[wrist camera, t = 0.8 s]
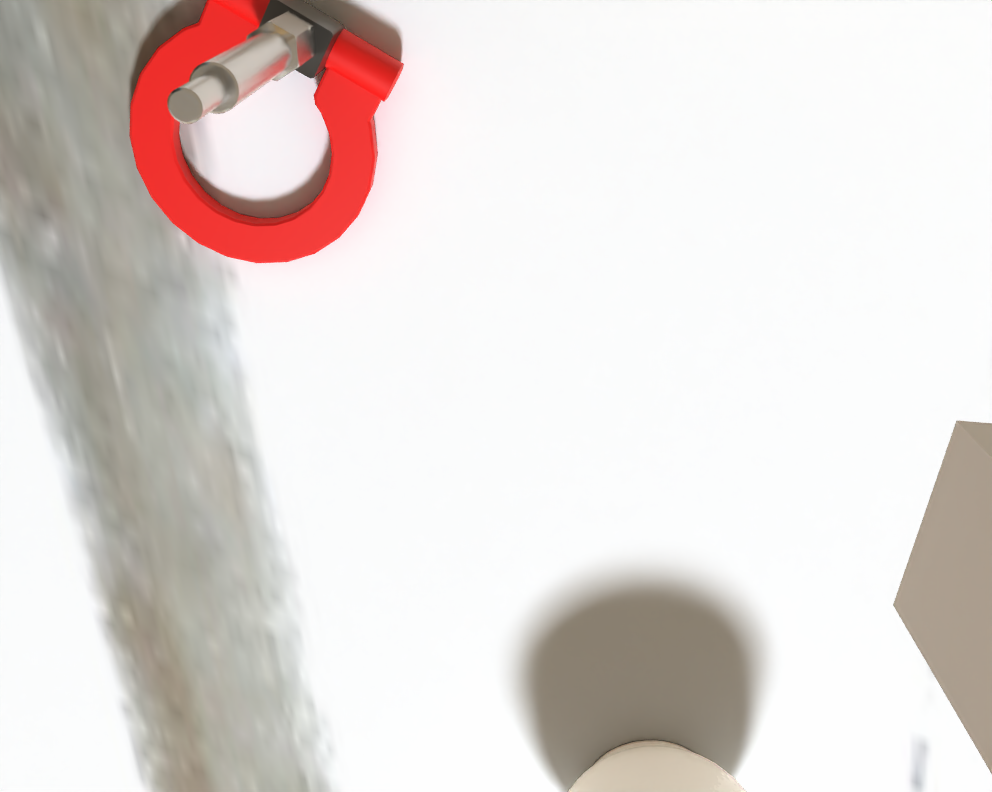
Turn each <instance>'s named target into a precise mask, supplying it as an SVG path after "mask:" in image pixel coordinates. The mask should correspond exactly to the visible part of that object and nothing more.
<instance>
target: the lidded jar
mask: <svg viewBox="0 0 992 792" xmlns="http://www.w3.org/2000/svg"><path fill="white" fill-rule="evenodd" d="M568 792H746V791H745V790H744V788H743V787H742V786H741V785H740V784H739V783H738V782H737V781H736V779H735V778H734V777H733V776H731V775H730V774H729V773H728V772H726V771H725V770H724V769H722V768H721V767H720V766H718V765H717V764H716V763H714V762H712V761H710V760H709V759H707V758H705V757H703V756H701V755H698V754H696V753H693V752H692V751H690V750H688V749H686V748H685V747H683V746H680V745H677V744H675V743H671V742H666V741H658V740H643V741H636V742H631V743H627V744H624V745H621V746H619V747H616V748H614V749H612V750H611V751H609V752H607V753H606V754H604V755H603V756H602V757H600V758H599V759H598V760H597V761H596V762H595V764H594V765H593V766H592V767H590V768H589V769H588V770H587V771H585V772H584V773H583V774H582V775H581V776H580V777H579V778H578V779H577V780H576V782H575V783H574V784H573V786H572V787H571V789H570V790H569V791H568Z"/></svg>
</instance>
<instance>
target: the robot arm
mask: <svg viewBox="0 0 992 792" xmlns="http://www.w3.org/2000/svg"><path fill="white" fill-rule="evenodd" d="M893 606H894V607H895V609H896V611H897V612H898V614H899V616H900V618H901V619H902V621H903V623H904V624H905V626H906V628H907V629H908V631H909V633H910V635H911V636H912V638H913V640H914V641H915V643H916V645H917V647H918V648H919V650H920V652H921V653H922V655H923V657H924V659H925V660H926V662H927V664H928V665H929V667H930V669H931V671H932V672H933V674H934V676H935V677H936V679H937V681H938V683H939V684H940V686H941V688H942V689H943V691H944V693H945V695H946V696H947V698H948V700H949V701H950V703H951V705H952V707H953V708H954V710H955V712H956V713H957V715H958V717H959V719H960V720H961V722H962V724H963V725H964V727H965V729H966V731H967V732H968V734H969V736H970V737H971V739H972V741H973V743H974V744H975V746H976V748H977V749H978V751H979V753H980V755H981V756H982V758H983V760H984V761H985V763H986V765H987V767H988V768H989V770H990V772H991V773H992V424H991V423H979V422H967V421H956V424H955V427H954V430H953V433H952V436H951V439H950V442H949V444H948V447H947V450H946V453H945V456H944V459H943V462H942V465H941V468H940V471H939V473H938V476H937V479H936V482H935V485H934V488H933V491H932V494H931V497H930V500H929V503H928V505H927V508H926V511H925V514H924V517H923V520H922V523H921V526H920V529H919V532H918V534H917V537H916V540H915V543H914V546H913V549H912V552H911V555H910V558H909V561H908V563H907V566H906V569H905V572H904V575H903V578H902V581H901V584H900V587H899V590H898V593H897V595H896V598H895V601H894V604H893Z"/></svg>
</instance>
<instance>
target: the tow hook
mask: <svg viewBox="0 0 992 792" xmlns="http://www.w3.org/2000/svg"><path fill="white" fill-rule="evenodd" d="M403 65H404V64H403V63H401V62H400V61H398V60H396V59H395V58H393V57H391V56H390V55H388V54H386V53H384V52H383V51H381V50H379V49H378V48H376V47H374V46H373V45H371V44H369V43H368V42H366V41H364V40H363V39H361V38H359V37H357V36H356V35H354V34H352V33H351V32H349V31H347V30H346V29H344V26H343V24H341V23H340V22H338V21H336V20H335V19H333V18H331V17H330V16H328V15H326V14H325V13H323V12H321V11H320V10H318V9H316V8H315V7H313V6H311V5H309V4H308V3H306V2H304V1H303V0H207V2H206V5H205V7H204V10H203V12H202V15H201V17H200V20H199V22H198V23H196V24H193V25H190V26H188V27H185V28H183V29H182V30H180V31H179V32H178V33H176V34H175V35H174V36H172V37H171V38H170V39H169V40H167V41H166V42H165V43H163V44H162V45H161V46H159V47H158V48H157V50H156V51H155V53H154V54H153V56H152V57H151V58H150V60H149V61H148V63H147V64H146V66H145V67H144V69H143V70H142V71H141V73H140V76H139V79H138V82H137V85H136V88H135V91H134V94H133V98H132V101H131V107H130V140H131V144H132V148H133V153H134V157H135V162H136V166H137V169H138V171H139V173H140V175H141V177H142V179H143V181H144V183H145V185H146V187H147V189H148V191H149V193H150V195H151V197H152V198H153V200H154V201H155V202H156V203H157V205H158V206H159V207H160V208H161V209H162V211H163V212H164V213H165V214H166V216H167V217H168V218H169V219H170V220H171V222H172V223H173V224H175V225H176V226H177V227H178V228H180V229H181V230H182V231H183V232H185V233H186V234H187V235H189V236H190V237H191V238H192V239H194V240H195V241H196V242H198V243H199V244H201V245H203V246H206V247H208V248H210V249H212V250H214V251H216V252H218V253H220V254H222V255H225V256H227V257H231V258H236V259H240V260H245V261H250V262H254V263H273V262H289V261H292V260H295V259H298V258H302V257H305V256H308V255H312V254H315V253H316V252H318V251H319V250H321V249H323V248H324V247H326V246H327V245H329V244H330V243H332V242H333V241H335V240H337V239H338V238H339V237H340V236H341V235H342V234H343V233H344V232H345V230H346V229H347V228H348V227H349V226H350V225H351V223H352V222H353V221H354V220H355V219H356V218H357V217H358V215H359V213H360V211H361V209H362V207H363V205H364V203H365V200H366V198H367V196H368V194H369V192H370V190H371V187H372V185H373V181H374V174H375V168H376V162H377V155H378V152H377V142H376V133H375V124H374V119H373V116H374V114H375V112H376V110H377V108H378V106H379V104H380V102H381V100H382V101H385V100H386V99H387V98H388V97H389V95H390V93H391V91H392V89H393V87H394V86H395V84H396V82H397V80H398V78H399V76H400V74H401V71H402V69H403ZM324 68H326V70H325V72H324V74H323V77H322V79H321V81H320V83H319V85H318V87H317V89H316V92H315V94H314V100H315V105H316V106H317V108H318V109H319V111H320V112H321V114H322V116H323V119H324V122H325V124H326V127H327V129H328V132H329V136H330V144H331V152H332V156H331V164H330V172H329V176H328V178H327V180H326V183H325V185H324V187H323V190H322V191H321V192H320V194H319V195H318V196H317V197H316V198H315V200H314V201H313V202H312V203H310V204H309V205H307V206H306V207H304V208H303V209H301V210H300V211H298V212H296V213H292V214H289V215H286V216H283V217H280V218H256V217H251V216H247V215H242V214H239V213H237V212H235V211H233V210H231V209H229V208H227V207H224V206H222V205H221V204H220V203H218V202H217V201H216V200H215V199H213V198H212V197H211V196H210V195H208V194H207V193H206V192H205V191H204V190H203V188H202V187H201V186H200V185H199V183H198V182H197V181H196V180H195V178H194V177H193V176H192V174H191V172H190V170H189V168H188V166H187V163H186V161H185V159H184V157H183V153H182V149H181V144H180V139H179V124H180V122H181V123H183V124H192V123H195V122H197V121H198V120H200V119H201V118H202V117H204V116H205V115H207V114H208V113H215V114H220V113H225V112H227V111H229V110H231V109H232V108H233V107H235V106H236V105H238V104H239V103H240V102H242V101H243V100H244V99H246V98H247V97H249V96H250V95H251V94H253V93H254V92H256V91H257V90H258V89H260V88H261V87H262V86H264V85H265V84H267V83H268V82H269V81H271V80H274V81H278V80H280V79H281V78H283V77H284V76H286V75H287V74H289V73H290V72H292V71H294V70H297V71H298V72H300V73H302V74H304V75H305V76H307V77H309V78H314V77H315V76H316V75H317V74H318V73H320V72H321V71H322V70H323V69H324Z"/></svg>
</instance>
